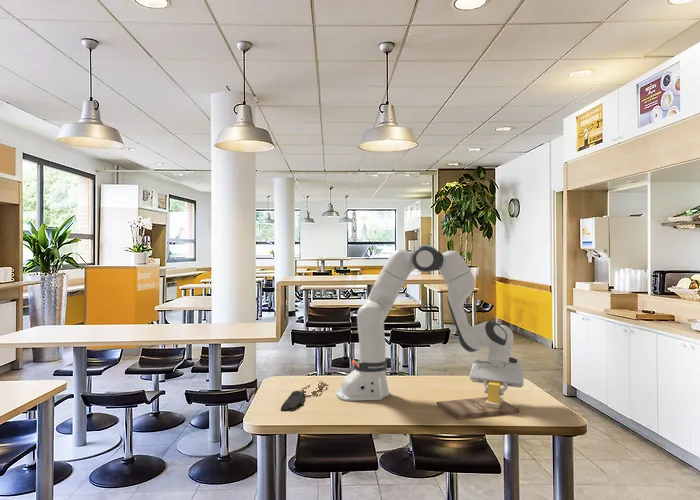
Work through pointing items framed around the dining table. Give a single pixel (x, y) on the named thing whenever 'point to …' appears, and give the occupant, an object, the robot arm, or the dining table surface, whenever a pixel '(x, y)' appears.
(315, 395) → the wooden fragment
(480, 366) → the robot arm
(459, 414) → the walnut board
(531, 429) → the dining table surface
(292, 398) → the dark grey tapered piece
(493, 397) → the block
